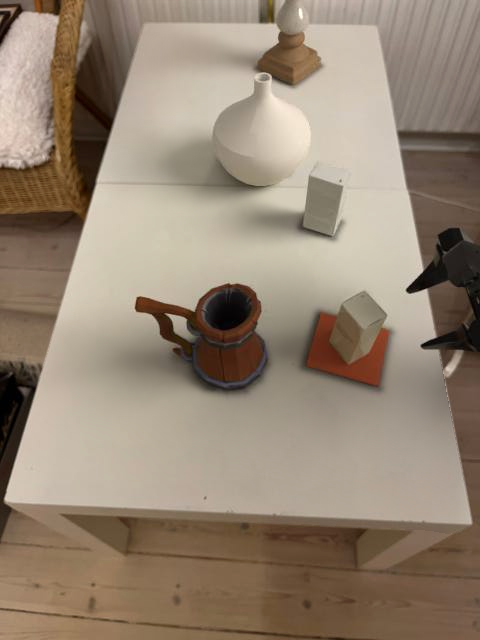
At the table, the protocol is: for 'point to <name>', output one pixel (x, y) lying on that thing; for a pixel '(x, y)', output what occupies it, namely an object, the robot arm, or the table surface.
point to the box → (357, 327)
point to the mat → (332, 362)
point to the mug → (217, 334)
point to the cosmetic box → (325, 197)
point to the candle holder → (290, 46)
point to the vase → (261, 136)
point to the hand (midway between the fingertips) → (414, 318)
